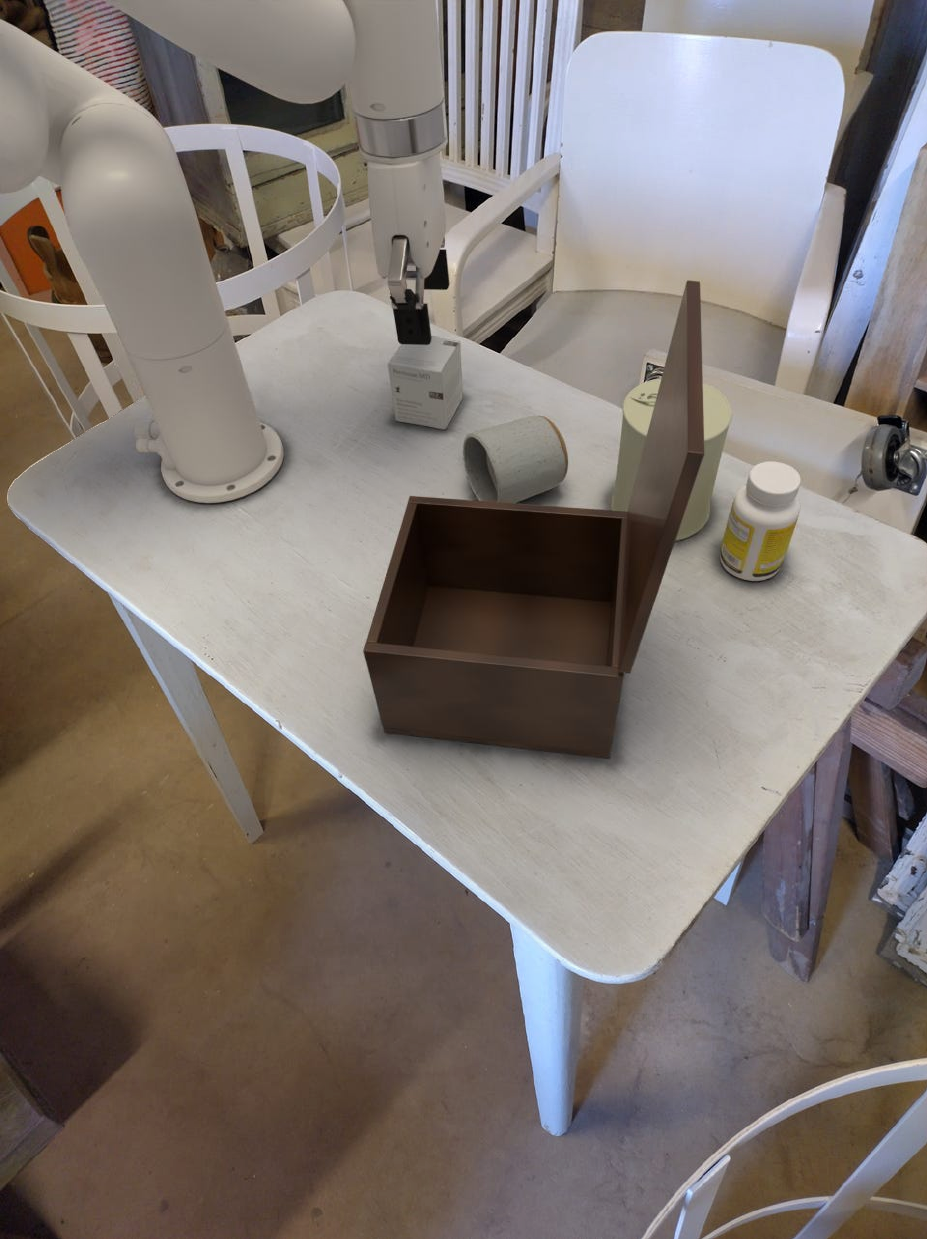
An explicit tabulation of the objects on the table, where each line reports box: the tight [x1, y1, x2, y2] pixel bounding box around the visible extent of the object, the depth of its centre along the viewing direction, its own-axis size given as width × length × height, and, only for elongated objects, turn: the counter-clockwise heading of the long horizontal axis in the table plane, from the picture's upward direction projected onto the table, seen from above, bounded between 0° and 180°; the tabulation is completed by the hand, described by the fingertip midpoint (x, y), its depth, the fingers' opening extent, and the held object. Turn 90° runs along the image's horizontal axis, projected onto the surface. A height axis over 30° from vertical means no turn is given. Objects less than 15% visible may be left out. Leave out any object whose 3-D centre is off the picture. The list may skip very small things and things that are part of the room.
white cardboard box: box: [387, 335, 464, 430], centre depth 87 cm, size 6×6×7 cm
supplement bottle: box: [719, 460, 802, 582], centre depth 69 cm, size 5×5×10 cm
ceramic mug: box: [462, 415, 569, 504], centre depth 79 cm, size 11×8×8 cm
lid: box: [618, 280, 704, 675], centre depth 50 cm, size 18×16×1 cm
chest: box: [362, 495, 628, 759], centre depth 63 cm, size 18×16×11 cm
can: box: [610, 377, 733, 542], centre depth 73 cm, size 9×9×12 cm
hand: (425, 314), depth 81 cm, fingers open, 9 cm apart
